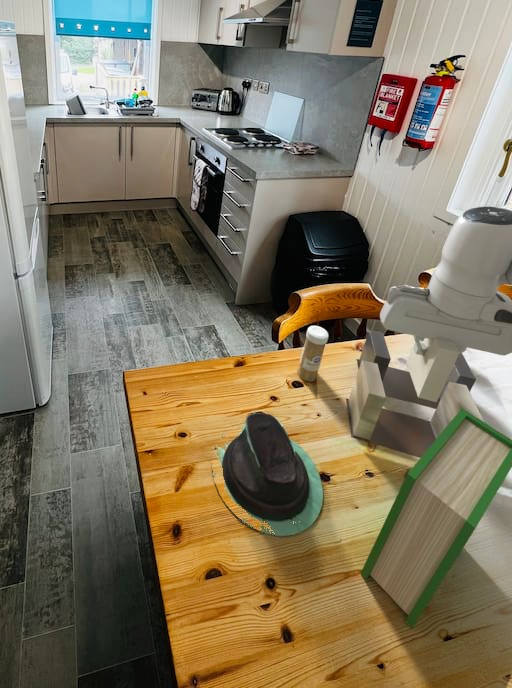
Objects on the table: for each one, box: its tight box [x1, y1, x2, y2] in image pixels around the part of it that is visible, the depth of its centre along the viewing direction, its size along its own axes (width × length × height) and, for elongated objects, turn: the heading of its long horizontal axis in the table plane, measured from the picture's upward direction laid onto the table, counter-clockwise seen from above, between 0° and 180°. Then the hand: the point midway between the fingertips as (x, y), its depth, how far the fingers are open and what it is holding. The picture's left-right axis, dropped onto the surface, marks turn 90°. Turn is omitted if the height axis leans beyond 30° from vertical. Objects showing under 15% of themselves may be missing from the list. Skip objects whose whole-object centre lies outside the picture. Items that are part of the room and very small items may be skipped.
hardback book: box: [360, 409, 512, 629], centre depth 57 cm, size 18×7×24 cm, turn 125°
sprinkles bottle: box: [296, 325, 329, 383], centre depth 93 cm, size 5×5×13 cm
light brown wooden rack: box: [345, 360, 485, 459], centre depth 79 cm, size 20×10×13 cm, turn 72°
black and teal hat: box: [212, 411, 324, 537], centre depth 72 cm, size 15×19×20 cm
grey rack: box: [356, 329, 477, 410], centre depth 91 cm, size 20×10×11 cm, turn 72°
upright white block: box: [406, 338, 460, 402], centre depth 74 cm, size 3×9×12 cm, turn 161°
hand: (431, 355), depth 74 cm, fingers closed on upright white block, 3 cm apart
